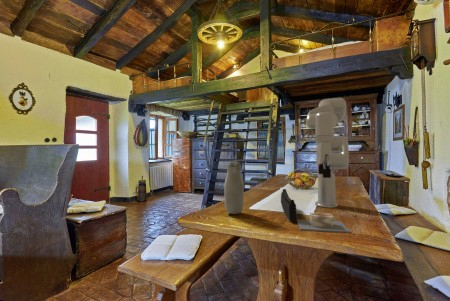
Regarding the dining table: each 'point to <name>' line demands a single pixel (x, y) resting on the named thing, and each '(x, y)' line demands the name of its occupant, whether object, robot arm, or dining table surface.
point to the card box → (321, 219)
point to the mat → (337, 227)
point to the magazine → (288, 206)
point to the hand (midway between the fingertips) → (324, 175)
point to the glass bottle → (234, 188)
